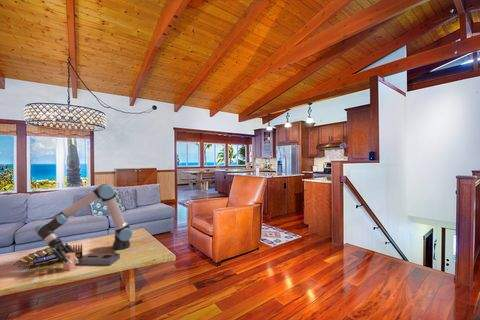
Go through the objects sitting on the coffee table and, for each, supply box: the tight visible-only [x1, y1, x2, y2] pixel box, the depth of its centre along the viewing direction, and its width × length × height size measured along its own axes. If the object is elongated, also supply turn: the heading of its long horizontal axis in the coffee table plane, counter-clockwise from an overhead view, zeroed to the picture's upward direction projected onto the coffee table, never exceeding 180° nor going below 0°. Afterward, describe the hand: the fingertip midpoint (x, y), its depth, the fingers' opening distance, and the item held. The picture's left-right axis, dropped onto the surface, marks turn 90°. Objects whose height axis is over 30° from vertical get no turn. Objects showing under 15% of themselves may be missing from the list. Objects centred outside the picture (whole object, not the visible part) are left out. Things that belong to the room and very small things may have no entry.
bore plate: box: [77, 252, 121, 266], centre depth 180 cm, size 13×26×4 cm, turn 89°
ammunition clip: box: [69, 243, 83, 260], centre depth 185 cm, size 11×2×12 cm, turn 128°
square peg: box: [62, 253, 76, 271], centre depth 168 cm, size 5×5×11 cm
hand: (73, 262), depth 167 cm, fingers closed on square peg, 5 cm apart
